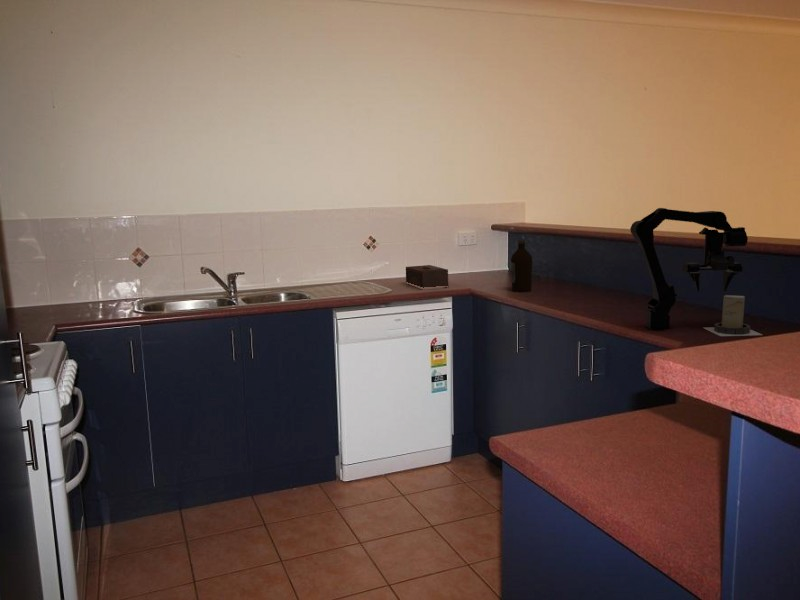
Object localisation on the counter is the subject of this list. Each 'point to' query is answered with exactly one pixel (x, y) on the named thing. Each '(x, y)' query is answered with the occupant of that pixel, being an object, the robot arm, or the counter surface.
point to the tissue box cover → (427, 276)
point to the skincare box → (733, 311)
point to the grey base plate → (731, 334)
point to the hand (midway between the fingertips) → (711, 291)
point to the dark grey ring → (732, 329)
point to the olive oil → (521, 269)
